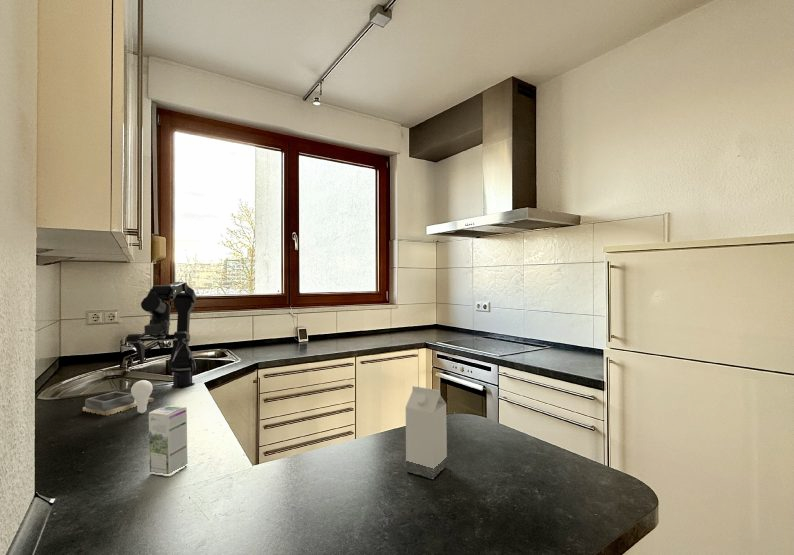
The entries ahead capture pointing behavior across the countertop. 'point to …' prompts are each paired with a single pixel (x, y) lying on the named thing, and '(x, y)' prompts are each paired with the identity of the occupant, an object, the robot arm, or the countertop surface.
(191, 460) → the countertop surface
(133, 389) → the lightbulb
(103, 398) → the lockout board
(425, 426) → the milk carton
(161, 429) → the syrup box
